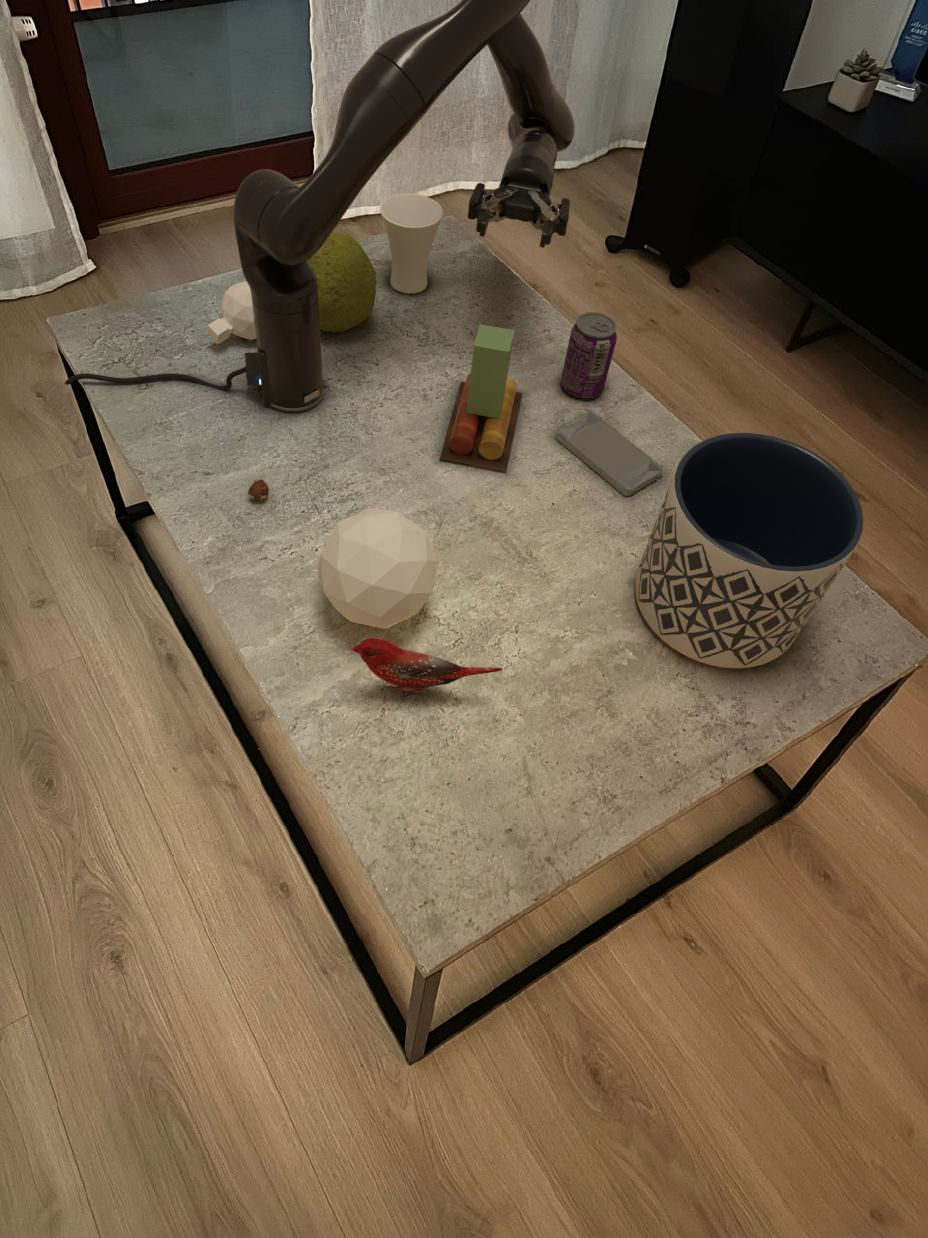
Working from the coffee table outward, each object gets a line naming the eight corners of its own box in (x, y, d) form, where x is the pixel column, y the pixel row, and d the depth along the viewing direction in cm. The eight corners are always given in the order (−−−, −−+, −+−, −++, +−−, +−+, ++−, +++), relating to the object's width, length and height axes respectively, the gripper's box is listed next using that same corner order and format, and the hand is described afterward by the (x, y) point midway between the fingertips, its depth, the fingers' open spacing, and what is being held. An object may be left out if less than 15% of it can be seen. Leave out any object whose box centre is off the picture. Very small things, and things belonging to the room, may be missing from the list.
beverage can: (609, 382, 147) (626, 319, 137) (594, 407, 143) (610, 344, 133) (569, 368, 148) (582, 304, 139) (553, 392, 144) (566, 328, 135)
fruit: (262, 319, 149) (268, 220, 143) (332, 321, 159) (340, 229, 153) (320, 338, 139) (328, 233, 133) (391, 340, 149) (402, 242, 143)
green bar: (499, 418, 133) (509, 351, 123) (466, 412, 133) (473, 345, 124) (504, 397, 136) (514, 330, 126) (471, 391, 136) (479, 323, 127)
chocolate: (254, 507, 124) (251, 487, 121) (246, 497, 125) (243, 477, 122) (273, 499, 125) (271, 479, 122) (266, 489, 126) (263, 469, 123)
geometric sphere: (378, 602, 123) (412, 499, 118) (436, 653, 112) (476, 542, 108) (284, 593, 113) (318, 481, 109) (338, 647, 103) (378, 525, 98)
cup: (372, 294, 156) (373, 220, 145) (386, 261, 162) (387, 188, 151) (432, 305, 155) (437, 231, 145) (443, 271, 162) (448, 199, 151)
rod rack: (506, 473, 132) (509, 451, 129) (439, 460, 133) (441, 439, 129) (522, 395, 143) (525, 374, 140) (460, 384, 143) (462, 362, 140)
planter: (763, 702, 112) (830, 603, 96) (604, 617, 118) (642, 511, 102) (820, 588, 124) (888, 483, 108) (673, 516, 130) (717, 407, 114)
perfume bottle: (252, 295, 150) (195, 332, 145) (253, 258, 141) (192, 295, 137) (288, 331, 149) (232, 369, 144) (291, 296, 140) (231, 335, 136)
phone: (590, 416, 142) (591, 410, 140) (664, 475, 135) (666, 469, 134) (552, 436, 138) (554, 430, 137) (627, 498, 131) (629, 492, 130)
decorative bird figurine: (352, 676, 109) (351, 628, 101) (497, 686, 110) (507, 640, 102) (350, 696, 108) (348, 649, 99) (497, 707, 108) (507, 661, 100)
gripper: (483, 145, 131) (464, 200, 122) (579, 162, 131) (568, 219, 121) (478, 195, 137) (460, 251, 128) (569, 211, 137) (558, 269, 127)
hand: (512, 235), depth 124 cm, fingers open, 8 cm apart
